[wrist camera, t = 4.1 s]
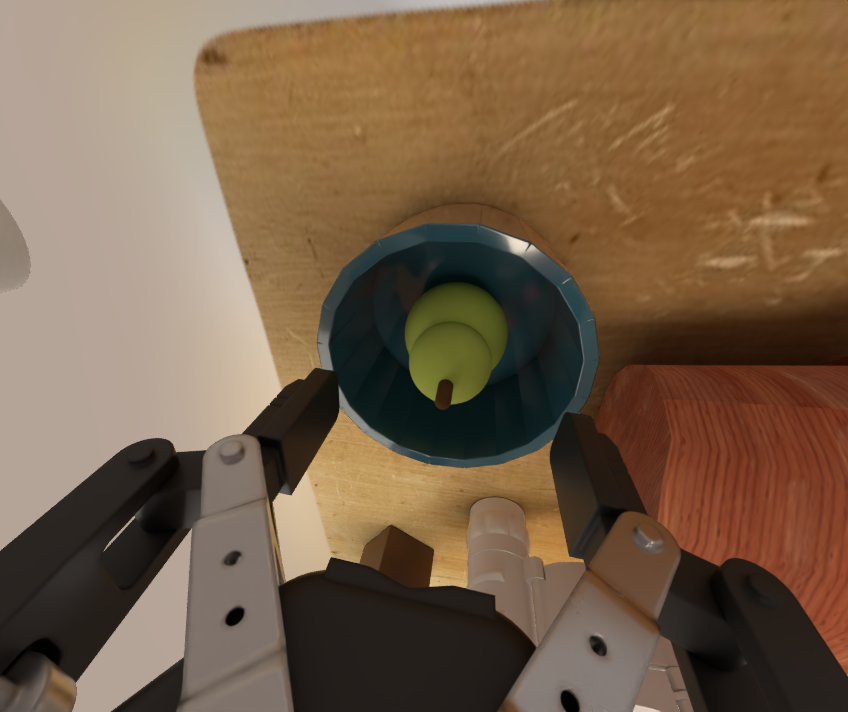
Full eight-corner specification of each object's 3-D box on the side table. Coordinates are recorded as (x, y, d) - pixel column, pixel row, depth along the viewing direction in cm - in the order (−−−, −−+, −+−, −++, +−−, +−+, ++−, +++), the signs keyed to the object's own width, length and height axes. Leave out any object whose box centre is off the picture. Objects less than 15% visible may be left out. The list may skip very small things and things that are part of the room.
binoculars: (698, 502, 25) (1055, 1075, 9) (681, 547, 27) (936, 1052, 12) (462, 492, 28) (433, 890, 13) (467, 532, 31) (447, 904, 15)
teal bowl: (335, 321, 22) (278, 380, 16) (439, 151, 16) (412, 143, 10) (474, 415, 24) (469, 500, 18) (610, 293, 18) (669, 356, 12)
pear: (398, 319, 20) (347, 410, 13) (450, 249, 18) (424, 311, 10) (466, 367, 21) (455, 478, 14) (525, 307, 19) (550, 402, 11)
